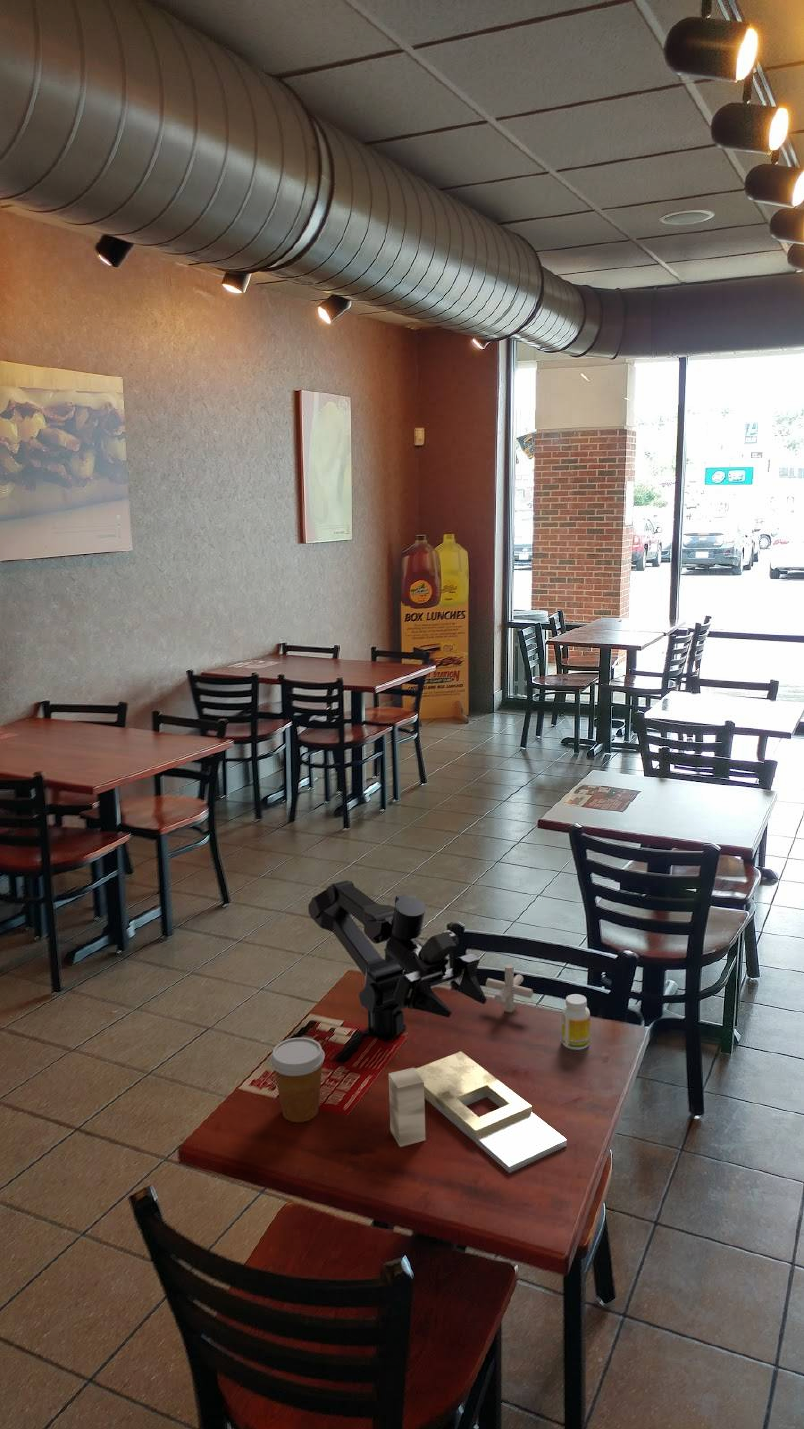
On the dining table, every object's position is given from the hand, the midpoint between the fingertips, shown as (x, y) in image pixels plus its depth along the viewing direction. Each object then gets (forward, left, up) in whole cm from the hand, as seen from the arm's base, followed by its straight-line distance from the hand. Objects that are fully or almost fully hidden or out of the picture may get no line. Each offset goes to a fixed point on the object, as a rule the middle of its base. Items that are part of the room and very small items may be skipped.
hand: (468, 1008), depth 178 cm
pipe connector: (-6, +29, -16) cm, 33 cm away
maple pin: (-2, -17, -16) cm, 24 cm away
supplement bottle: (+11, +24, -16) cm, 30 cm away
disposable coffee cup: (-22, -21, -16) cm, 35 cm away
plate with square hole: (+6, -5, -16) cm, 18 cm away
